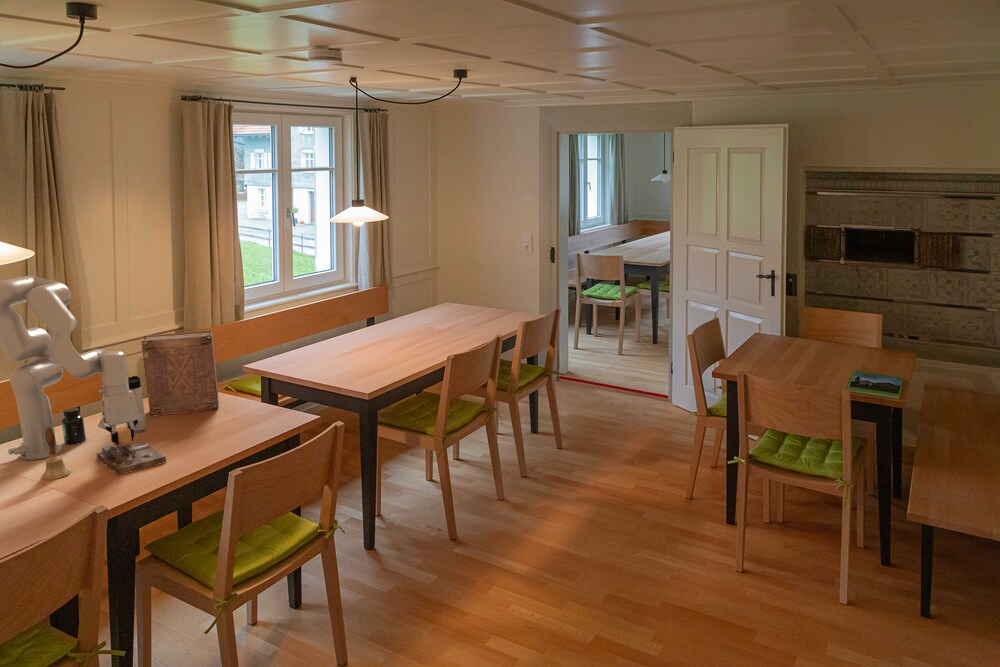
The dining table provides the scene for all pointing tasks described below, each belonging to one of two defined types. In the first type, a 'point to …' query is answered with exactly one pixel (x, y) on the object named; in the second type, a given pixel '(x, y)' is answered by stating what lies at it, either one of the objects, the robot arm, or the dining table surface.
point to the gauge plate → (130, 458)
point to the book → (180, 372)
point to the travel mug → (138, 402)
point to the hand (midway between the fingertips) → (123, 441)
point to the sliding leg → (125, 441)
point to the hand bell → (54, 460)
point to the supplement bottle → (73, 426)
